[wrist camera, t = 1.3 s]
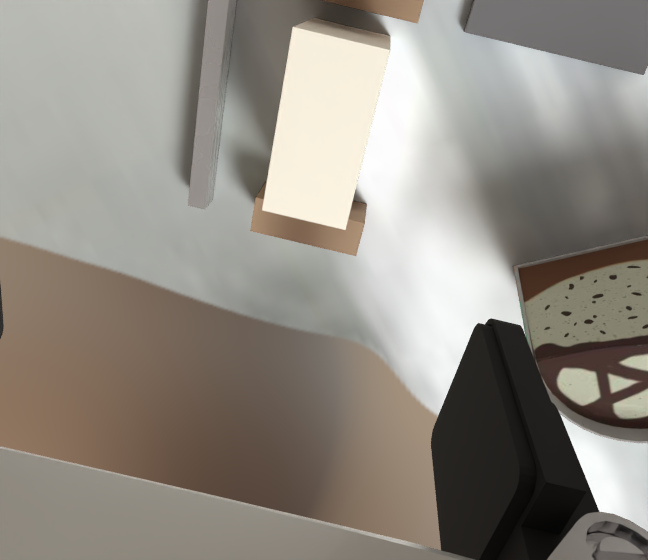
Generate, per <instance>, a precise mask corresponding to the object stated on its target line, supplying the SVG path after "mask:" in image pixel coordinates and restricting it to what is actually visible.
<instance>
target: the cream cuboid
mask: <svg viewBox="0 0 648 560" xmlns="http://www.w3.org/2000/svg"><path fill="white" fill-rule="evenodd" d="M389 53H390V36H388V35H383V34H379V33H375V32H371V31H367V30H362V29H358V28H354V27H350V26H346V25H342V24H337V23H333V22H329V21H325V20H321V19H316V18H312V19H310V20H308V21H305V22H303V23H301V24H298V25H296V26H294V27H293V28H292V34H291V40H290V46H289V52H288V58H287V64H286V70H285V76H284V82H283V88H282V94H281V100H280V106H279V112H278V118H277V124H276V130H275V136H274V142H273V148H272V154H271V160H270V165H269V171H268V177H267V183H266V189H265V195H264V201H263V207H262V210H263V211H267V212H271V213H276V214H280V215H284V216H288V217H292V218H297V219H301V220H305V221H309V222H314V223H318V224H322V225H326V226H330V227H335V228H339V229H343V230H346V226H347V222H348V218H349V214H350V210H351V206H352V202H353V198H354V194H355V190H356V186H357V182H358V178H359V174H360V170H361V165H362V161H363V157H364V153H365V149H366V145H367V141H368V137H369V133H370V129H371V125H372V121H373V117H374V113H375V109H376V105H377V101H378V97H379V93H380V89H381V85H382V81H383V77H384V73H385V69H386V65H387V61H388V57H389Z"/></svg>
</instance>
